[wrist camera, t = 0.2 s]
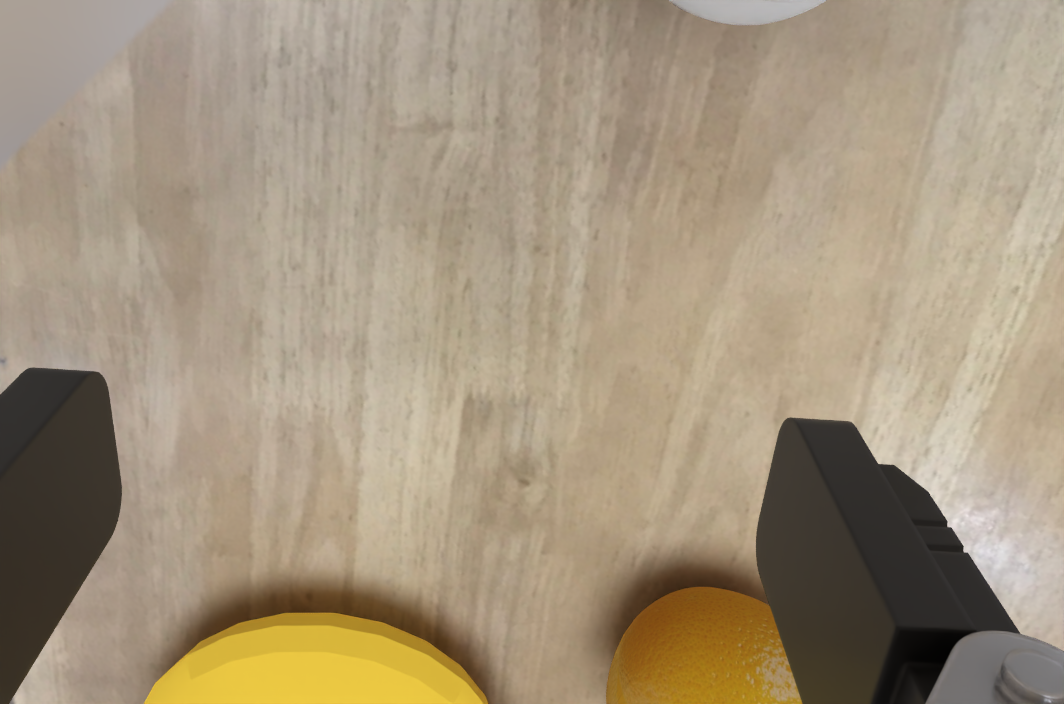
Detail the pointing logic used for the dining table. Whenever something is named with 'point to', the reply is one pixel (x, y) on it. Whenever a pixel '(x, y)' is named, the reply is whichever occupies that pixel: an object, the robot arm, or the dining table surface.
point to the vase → (315, 666)
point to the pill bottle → (746, 10)
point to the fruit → (702, 653)
